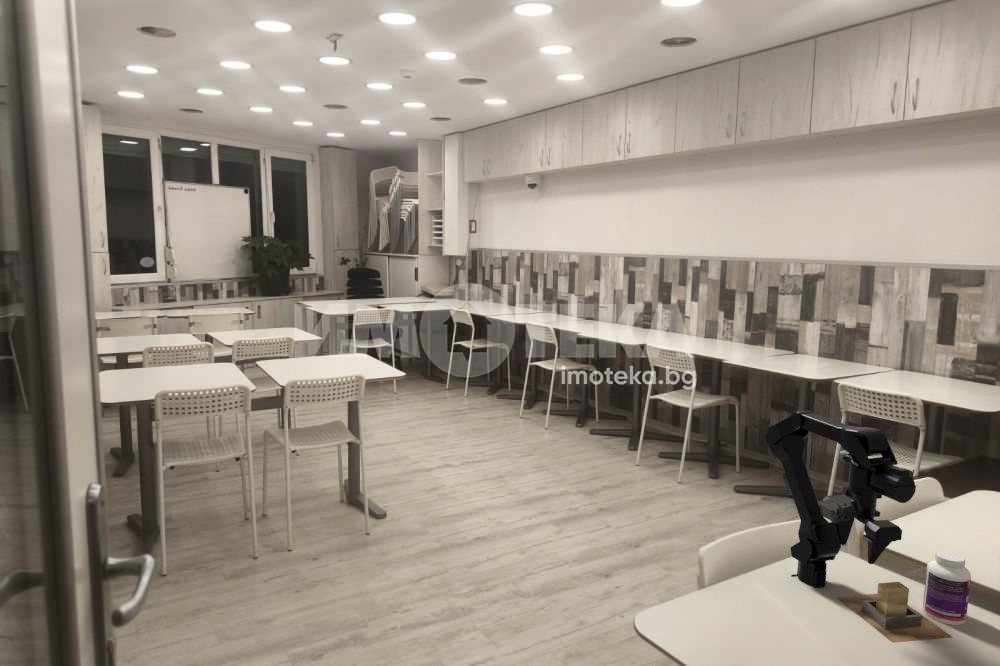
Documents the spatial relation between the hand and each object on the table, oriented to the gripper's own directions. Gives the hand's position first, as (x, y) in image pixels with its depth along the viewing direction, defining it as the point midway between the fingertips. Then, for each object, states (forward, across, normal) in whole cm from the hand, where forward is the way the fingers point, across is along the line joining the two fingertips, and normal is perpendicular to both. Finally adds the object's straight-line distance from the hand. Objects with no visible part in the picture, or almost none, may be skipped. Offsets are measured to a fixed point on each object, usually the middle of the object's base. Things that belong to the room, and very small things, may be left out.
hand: (856, 553), depth 152 cm
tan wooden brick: (+12, +6, +5) cm, 14 cm away
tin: (+12, +6, +5) cm, 14 cm away
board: (+13, +5, +6) cm, 15 cm away
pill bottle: (+13, +6, +18) cm, 23 cm away
